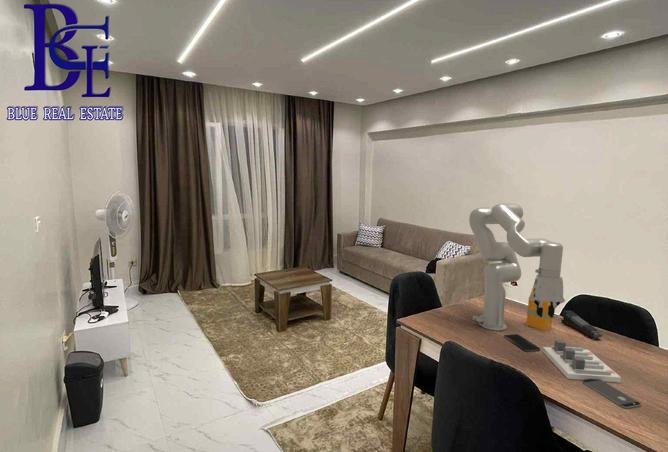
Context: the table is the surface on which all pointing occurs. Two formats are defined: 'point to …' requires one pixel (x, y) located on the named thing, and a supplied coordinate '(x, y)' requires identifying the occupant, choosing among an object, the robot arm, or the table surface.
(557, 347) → the far tab
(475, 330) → the table surface
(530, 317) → the orange juice
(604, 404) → the table surface
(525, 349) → the phone
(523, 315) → the table surface
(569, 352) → the middle tab
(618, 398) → the phone
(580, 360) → the near tab
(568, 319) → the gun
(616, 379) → the switch board
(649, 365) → the table surface
